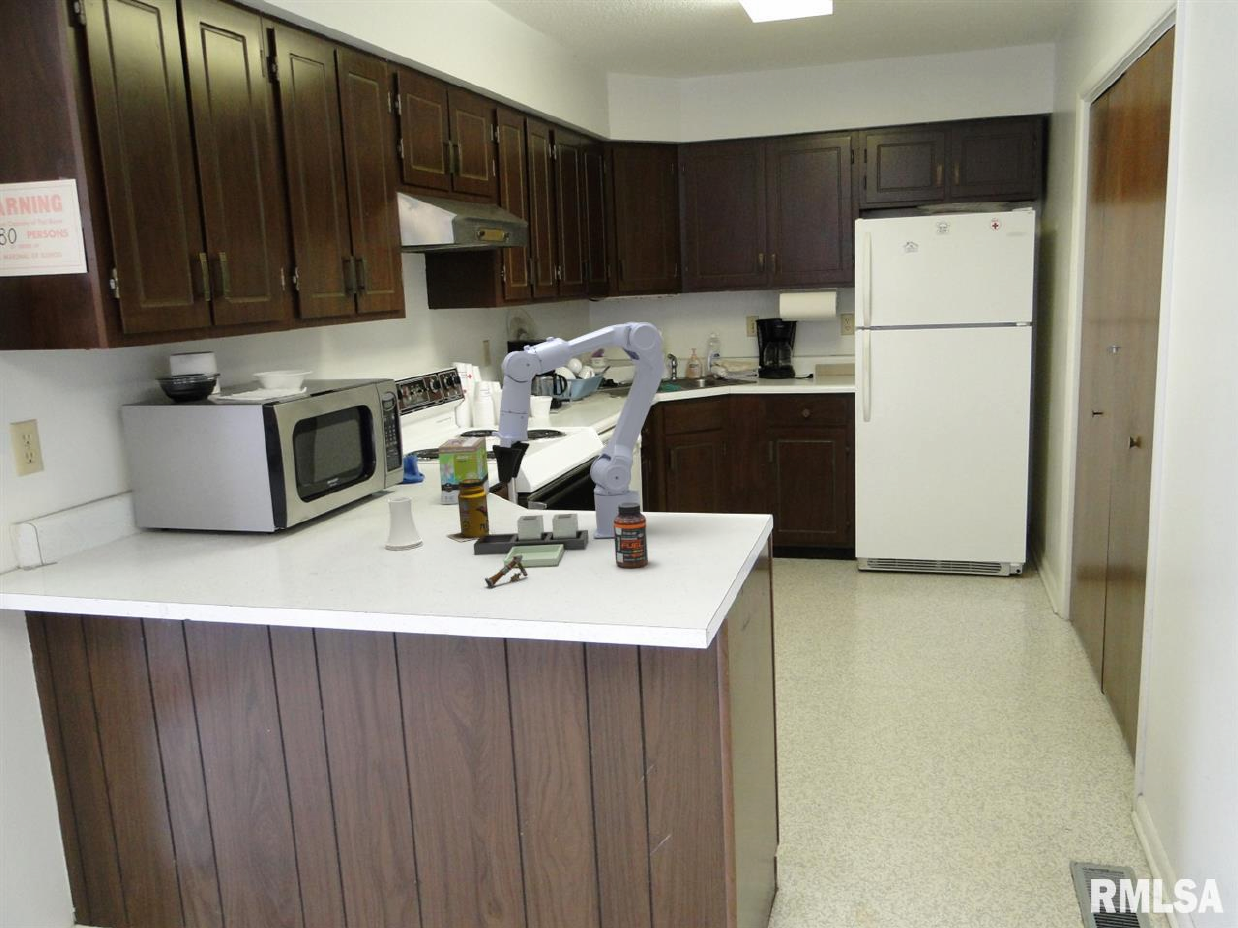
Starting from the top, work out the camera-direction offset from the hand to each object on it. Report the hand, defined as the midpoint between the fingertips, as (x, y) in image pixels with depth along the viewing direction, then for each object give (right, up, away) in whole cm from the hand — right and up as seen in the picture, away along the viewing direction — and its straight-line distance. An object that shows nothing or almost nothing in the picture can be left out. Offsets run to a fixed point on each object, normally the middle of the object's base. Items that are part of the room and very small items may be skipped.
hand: (508, 479), depth 197 cm
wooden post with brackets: (+2, -18, -22) cm, 28 cm away
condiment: (-9, -12, +15) cm, 21 cm away
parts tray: (+6, -15, -8) cm, 18 cm away
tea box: (-17, -6, +56) cm, 58 cm away
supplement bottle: (+25, -16, -16) cm, 33 cm away
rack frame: (+5, -14, +2) cm, 14 cm away
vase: (-23, -14, +10) cm, 29 cm away
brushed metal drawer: (+12, -13, +1) cm, 18 cm away
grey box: (+5, -14, +2) cm, 14 cm away
